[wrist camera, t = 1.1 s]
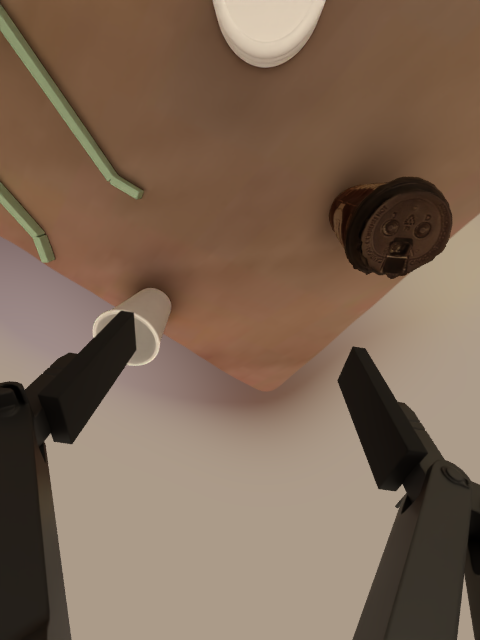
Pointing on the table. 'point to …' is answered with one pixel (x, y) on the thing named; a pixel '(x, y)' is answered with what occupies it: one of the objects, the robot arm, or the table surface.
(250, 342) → the table surface
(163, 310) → the dixie cup
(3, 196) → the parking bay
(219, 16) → the coaster
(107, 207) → the table surface
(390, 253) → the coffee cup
